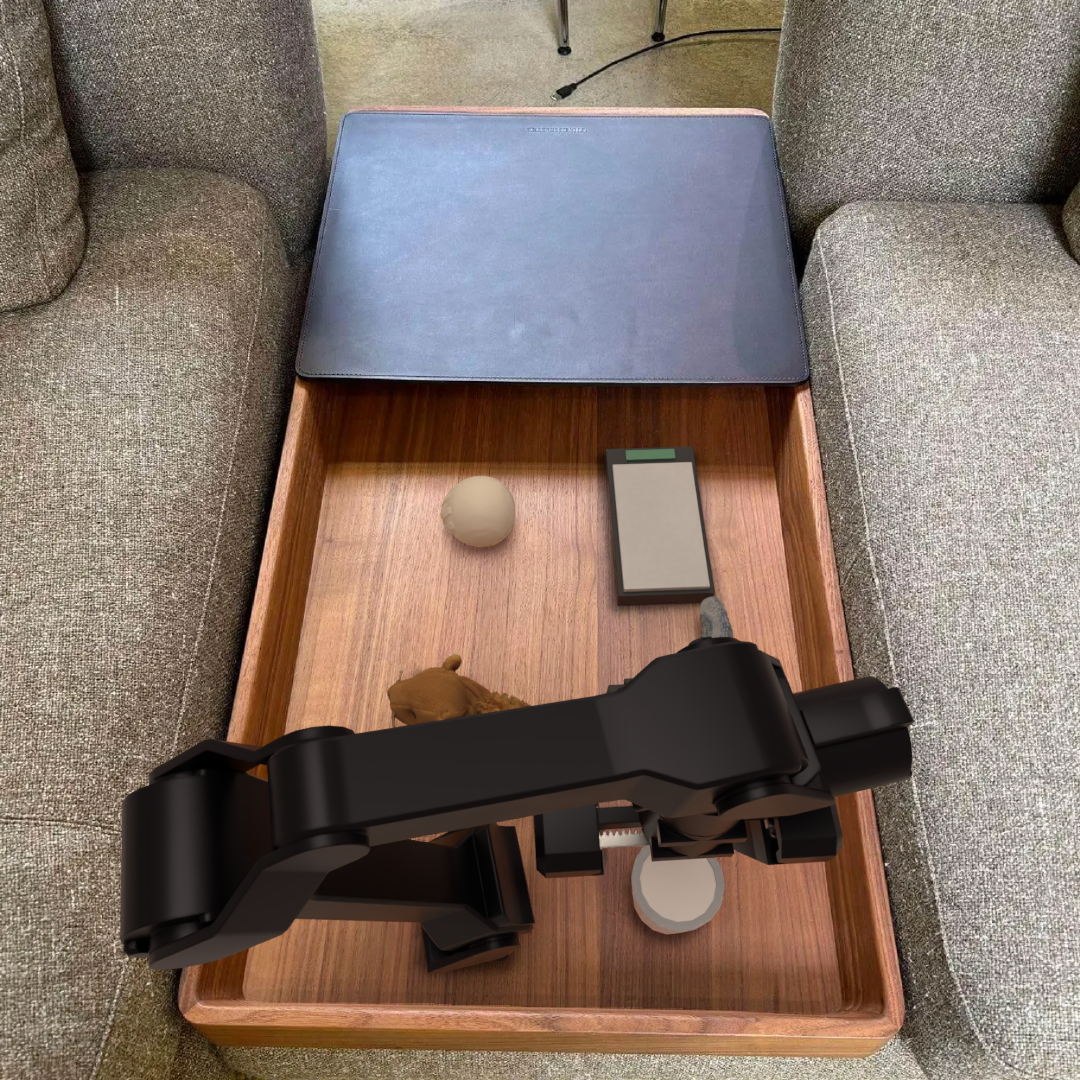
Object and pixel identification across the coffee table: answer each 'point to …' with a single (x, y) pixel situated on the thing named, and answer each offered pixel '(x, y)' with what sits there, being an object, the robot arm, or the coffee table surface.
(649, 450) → the kitchen scale
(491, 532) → the beige round ball
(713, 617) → the fossil
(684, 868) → the shot glass
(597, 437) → the coffee table surface
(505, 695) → the stuffed squirrel
